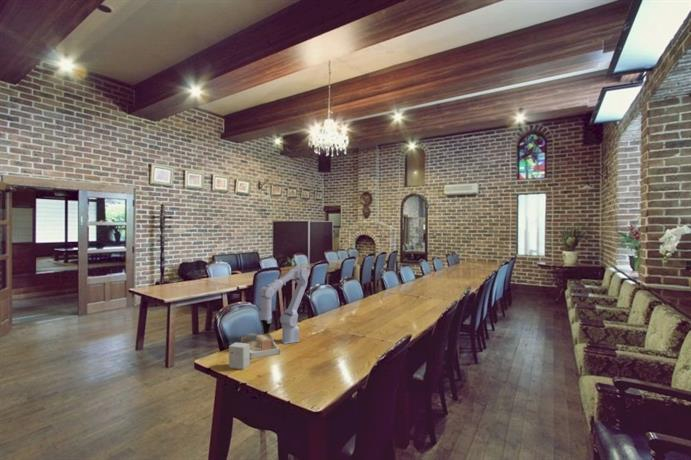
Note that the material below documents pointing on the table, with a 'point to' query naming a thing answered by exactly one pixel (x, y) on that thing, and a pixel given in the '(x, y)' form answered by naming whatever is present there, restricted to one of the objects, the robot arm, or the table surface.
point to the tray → (264, 352)
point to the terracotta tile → (266, 344)
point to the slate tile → (251, 337)
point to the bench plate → (257, 341)
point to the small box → (239, 355)
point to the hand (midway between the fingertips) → (266, 333)
